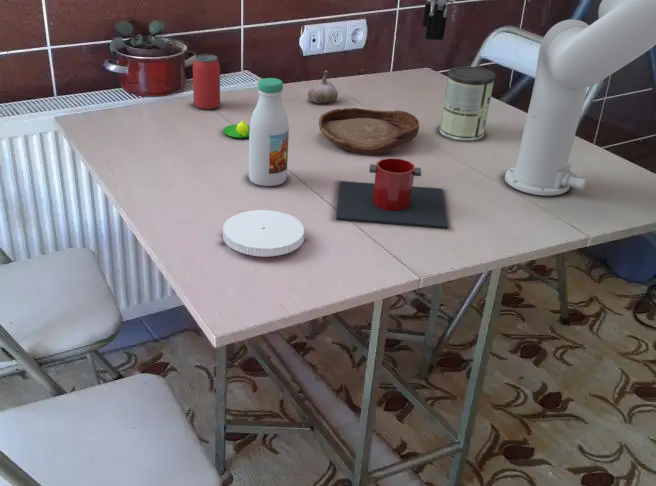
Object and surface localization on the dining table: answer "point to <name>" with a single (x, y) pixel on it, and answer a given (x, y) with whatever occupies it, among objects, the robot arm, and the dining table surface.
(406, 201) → the pot
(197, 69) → the beer can
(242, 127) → the lemon on green saucer
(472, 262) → the dining table surface
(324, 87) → the garlic bulb
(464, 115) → the coffee can
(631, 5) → the robot arm
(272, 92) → the milk bottle
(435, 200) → the mat
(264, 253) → the plastic lid
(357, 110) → the basket
